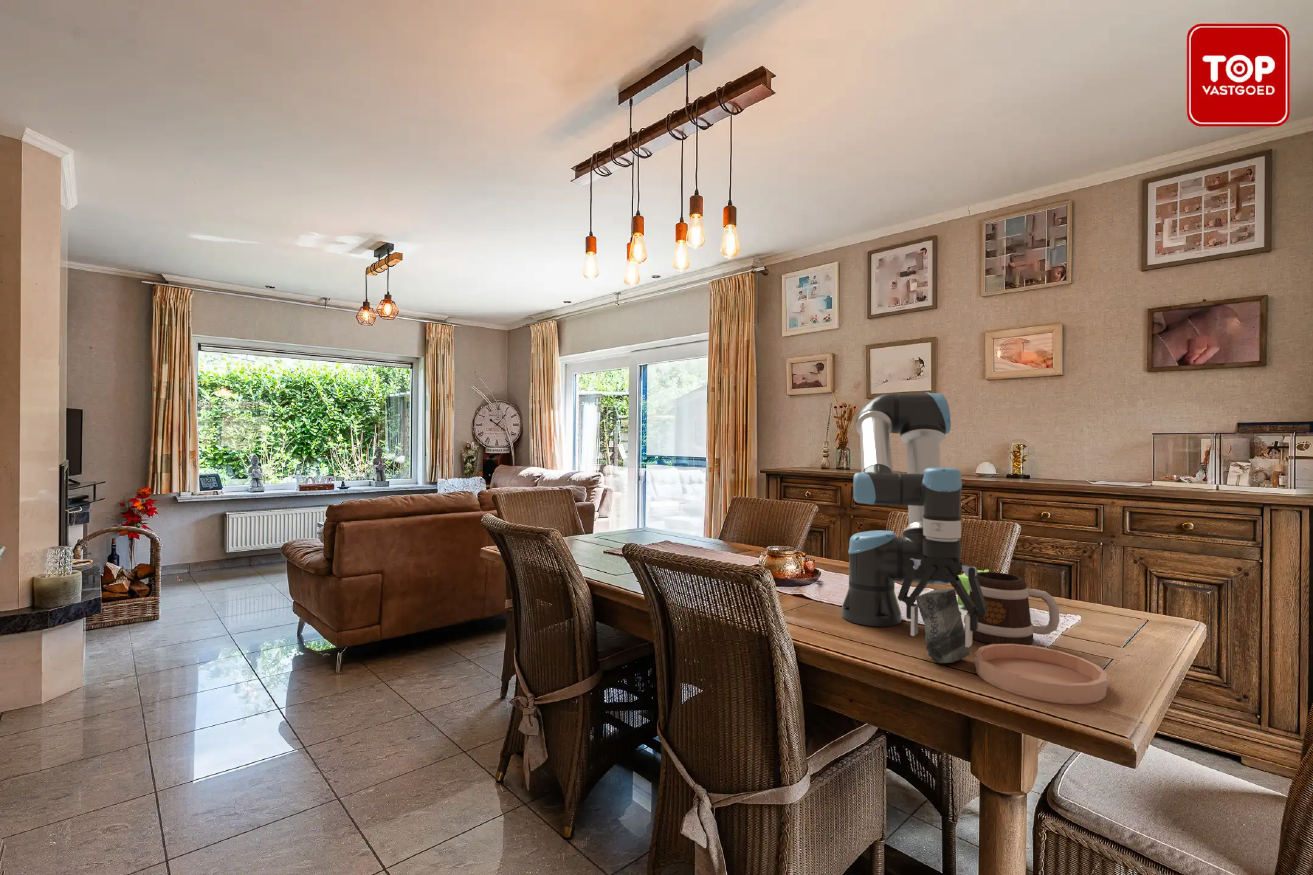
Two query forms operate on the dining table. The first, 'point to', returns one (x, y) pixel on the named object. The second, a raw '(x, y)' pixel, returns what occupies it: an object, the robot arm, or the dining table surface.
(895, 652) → the dining table surface
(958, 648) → the stone block
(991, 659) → the dish
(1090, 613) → the dining table surface
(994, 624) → the mug
